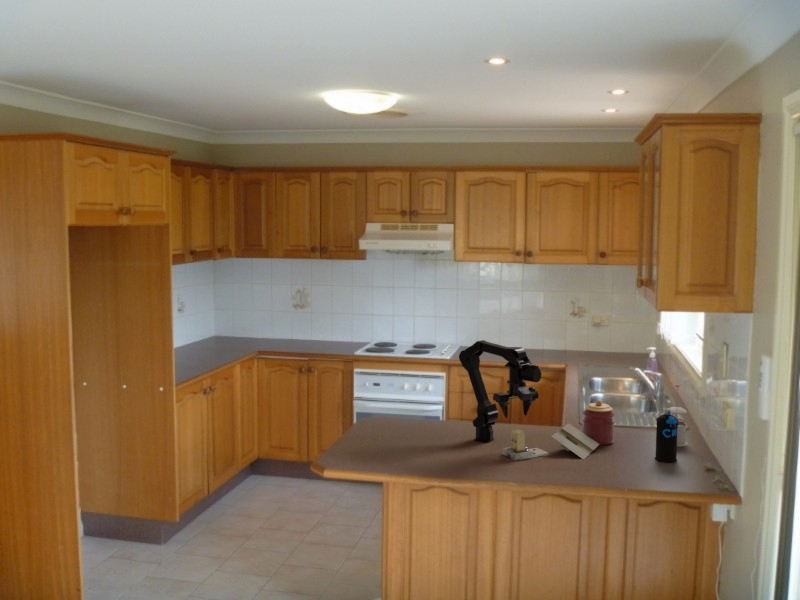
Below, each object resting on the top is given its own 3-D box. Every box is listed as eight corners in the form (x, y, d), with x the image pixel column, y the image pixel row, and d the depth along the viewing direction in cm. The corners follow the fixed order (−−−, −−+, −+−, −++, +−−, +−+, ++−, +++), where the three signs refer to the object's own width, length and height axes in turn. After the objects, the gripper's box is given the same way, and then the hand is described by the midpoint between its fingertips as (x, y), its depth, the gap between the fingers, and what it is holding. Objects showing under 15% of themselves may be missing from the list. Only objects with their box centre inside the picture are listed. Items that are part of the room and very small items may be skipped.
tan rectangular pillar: (510, 455, 311) (510, 430, 309) (518, 454, 312) (518, 429, 311) (516, 458, 306) (517, 433, 305) (524, 457, 308) (525, 432, 307)
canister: (618, 440, 332) (619, 399, 330) (606, 447, 322) (607, 404, 320) (589, 435, 340) (590, 394, 338) (576, 441, 329) (577, 400, 327)
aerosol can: (650, 457, 307) (651, 407, 305) (667, 455, 310) (669, 405, 308) (664, 463, 300) (666, 412, 298) (681, 461, 302) (683, 410, 300)
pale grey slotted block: (587, 456, 323) (561, 429, 327) (600, 443, 318) (573, 416, 322) (570, 472, 310) (543, 444, 315) (583, 459, 305) (556, 431, 310)
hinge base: (513, 460, 303) (513, 452, 303) (501, 454, 311) (501, 446, 311) (549, 455, 310) (549, 447, 310) (536, 449, 318) (536, 441, 318)
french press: (670, 447, 322) (672, 386, 319) (656, 439, 333) (658, 381, 331) (692, 445, 324) (695, 385, 321) (677, 438, 335) (679, 380, 332)
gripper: (507, 384, 306) (507, 423, 308) (547, 380, 314) (546, 418, 316) (492, 379, 316) (492, 417, 318) (531, 375, 324) (530, 412, 326)
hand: (515, 416), depth 319 cm, fingers open, 9 cm apart
